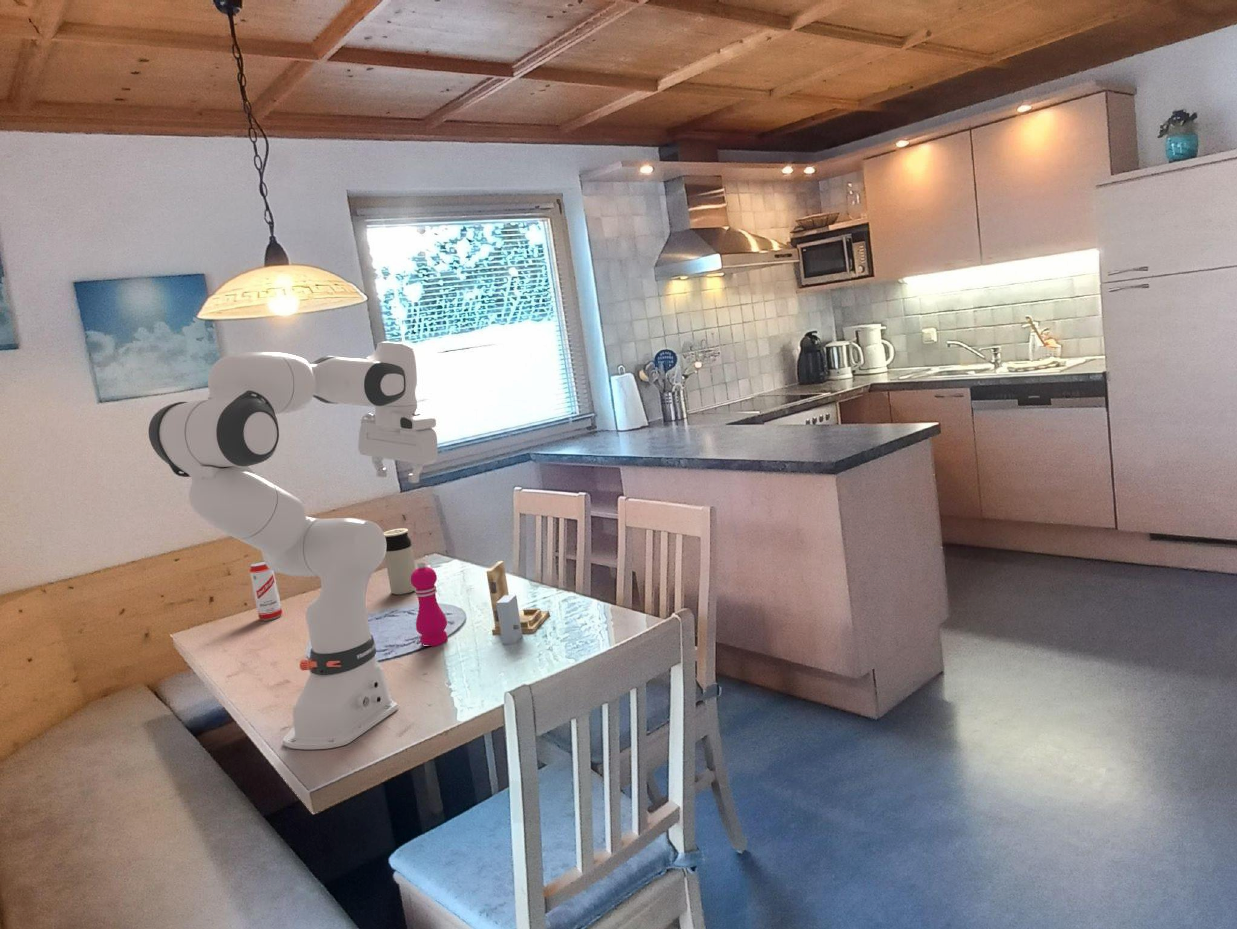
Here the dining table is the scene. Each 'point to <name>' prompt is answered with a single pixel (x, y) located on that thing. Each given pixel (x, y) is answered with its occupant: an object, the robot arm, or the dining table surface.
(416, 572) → the pepper mill
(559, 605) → the dining table surface
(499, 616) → the grey rectangular block
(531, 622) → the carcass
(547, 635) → the dining table surface
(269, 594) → the beer can
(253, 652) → the dining table surface
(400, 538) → the travel mug
